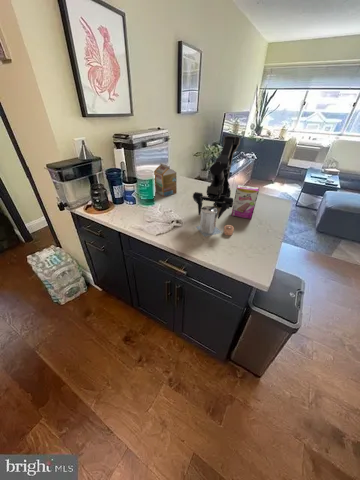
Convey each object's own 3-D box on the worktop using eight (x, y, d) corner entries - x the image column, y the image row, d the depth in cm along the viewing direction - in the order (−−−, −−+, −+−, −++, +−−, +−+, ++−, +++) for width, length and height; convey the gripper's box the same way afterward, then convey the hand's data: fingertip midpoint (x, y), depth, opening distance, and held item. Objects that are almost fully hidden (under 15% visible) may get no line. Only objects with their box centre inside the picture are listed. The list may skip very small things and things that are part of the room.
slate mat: (212, 223, 103) (212, 223, 103) (221, 233, 96) (222, 232, 95) (195, 227, 100) (195, 226, 100) (204, 237, 93) (204, 236, 92)
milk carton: (155, 191, 138) (153, 163, 127) (168, 188, 143) (167, 161, 132) (163, 196, 131) (162, 167, 120) (176, 193, 136) (176, 164, 125)
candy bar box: (230, 216, 110) (236, 187, 100) (232, 212, 114) (237, 184, 104) (251, 219, 107) (259, 190, 97) (252, 215, 111) (259, 187, 101)
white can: (210, 225, 101) (212, 204, 94) (217, 232, 95) (220, 211, 89) (197, 228, 98) (198, 207, 92) (204, 235, 93) (206, 214, 86)
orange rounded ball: (229, 230, 98) (230, 224, 96) (234, 235, 95) (235, 228, 92) (221, 232, 97) (222, 226, 94) (226, 237, 93) (227, 230, 91)
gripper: (194, 175, 89) (185, 207, 87) (236, 180, 84) (228, 214, 82) (198, 186, 100) (190, 215, 98) (236, 191, 94) (228, 222, 92)
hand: (208, 216), depth 92 cm, fingers open, 9 cm apart
